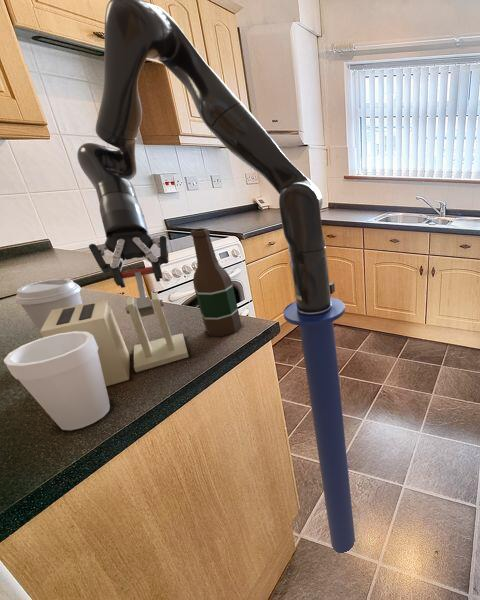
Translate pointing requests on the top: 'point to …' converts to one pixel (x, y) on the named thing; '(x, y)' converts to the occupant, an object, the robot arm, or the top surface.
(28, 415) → the top surface
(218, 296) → the beer bottle
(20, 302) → the coffee cup
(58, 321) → the toaster
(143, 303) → the lever
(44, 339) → the foam cup
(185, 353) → the lever bracket
